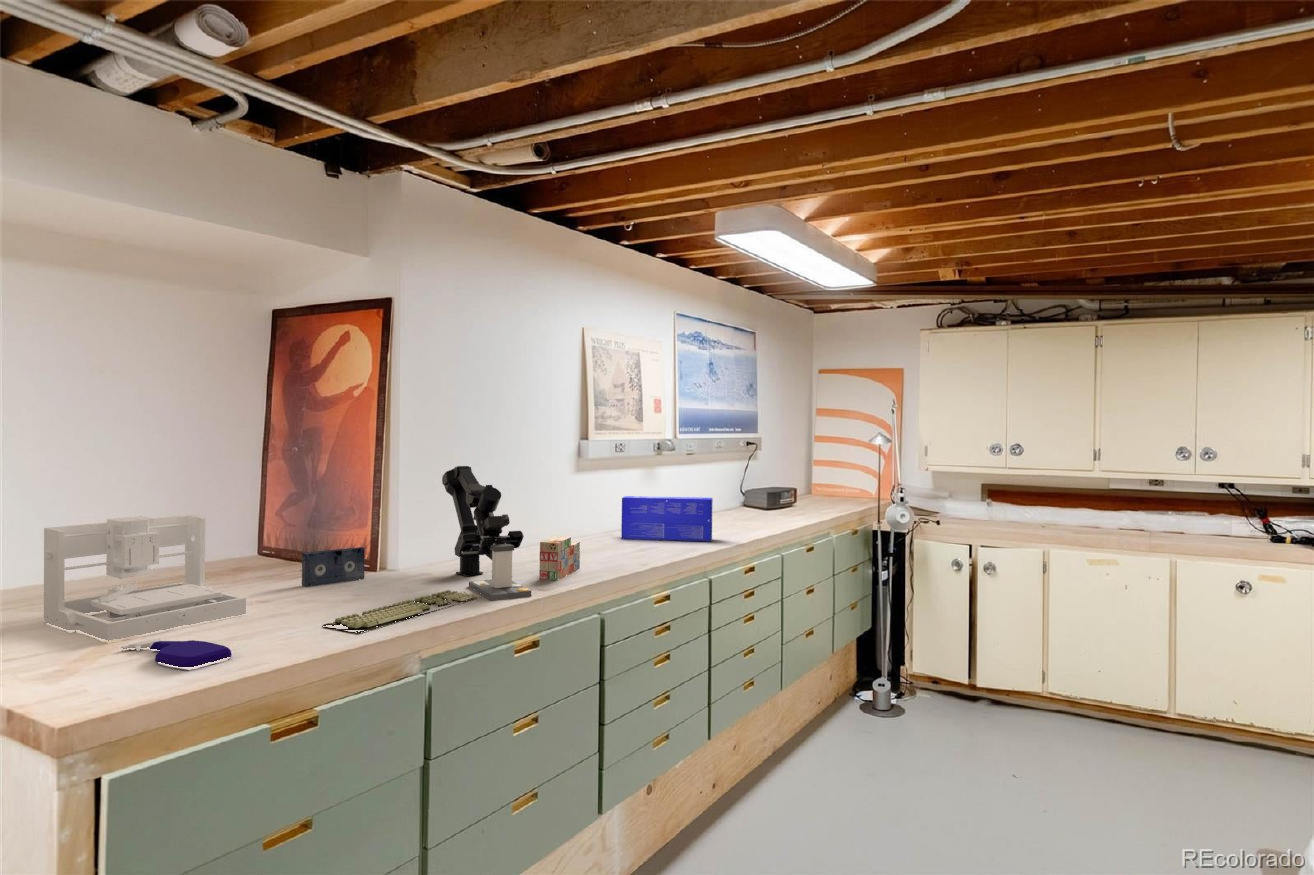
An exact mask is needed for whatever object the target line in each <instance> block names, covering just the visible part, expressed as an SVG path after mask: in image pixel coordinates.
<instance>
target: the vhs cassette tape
mask: <svg viewBox="0 0 1314 875" xmlns="http://www.w3.org/2000/svg"><path fill="white" fill-rule="evenodd" d="M365 552H366V551H365V547H363V546H360V547H350V548H348V547H346V548H339V549H328V550H327V549H326V550H318V551H309V552H308V551H307V552H302V553H301V554H302V555H301V586H302V587H304V588H310V587H317V586H318V587H319V586H325V585H331V584H339V583H345V582H353V581H354V582H355V581H360V580H359V579H361V580H365V575H366V574H365V561H366V560H365V558H366V557H365V554H366V553H365Z"/></svg>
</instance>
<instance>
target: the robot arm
mask: <svg viewBox="0 0 1314 875" xmlns="http://www.w3.org/2000/svg"><path fill="white" fill-rule="evenodd" d="M441 479H442V480H441V483H442V485H443V487H444V489H445V491H446V493H447V494H448V495H450V496H451V497H452V500H453V504H454V508H455V511H456V512H455V513H456V516H457V521H458V524H459V528H460V531H459V535H458V538H457V541H456V544H455V545H454V555H455V556H456V557H458V558H459V571H455V574H456V575H460V576H464V577H470V576H476V575H483V574H484V571H480V569H481V568H480V564H481V563H480V556H486V557H487V558H489V559H490V560H491V561H492V550H491V545H500V544H511V545H514V549H518V548H520V546H521V544H522V542H523V539H524V533H523V531H521V530H509V531H508V533H507V535H501V534H502V533H503V528H504V527H507V526H508V525H509V524H510V517H509V515H508V513H506V514H505V513H504V514H501V515H495V514H494V512H495V511H497V509H498V506H499V503H500V501H501V498H502V493H501V491H500V490H499V489H498V488H496V487H493V484H486V485H482V484H481V483H480V482H479V481H478V480H477V478H476V476H475V475H474V473H473V471H472V467H471V466H468V465H457V466H455V467H453V468H452V469H449V470H447V471H445V472H444V473H443V474H442V477H441ZM471 508H472V509H474V510H473V512H472V509H471ZM475 522H476V524H475Z"/></svg>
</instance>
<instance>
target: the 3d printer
mask: <svg viewBox="0 0 1314 875" xmlns="http://www.w3.org/2000/svg"><path fill="white" fill-rule="evenodd" d="M182 545H183V546H184V550H185V551H184V552H177V553H167V554H160V548H166V547H175V546H182ZM100 555H106V562H98V563H91V564H89V563H88V564H84V565H83V564H82V565H74V566H69V567H65V559H66V560H68V559H75V558H83V557H84V558H85V557H92V556H93V557H94V556H100ZM183 555H184V582H182V581H181V582H176V583H175V582H174V583H169V584H163V585H156V586H149V587H145V588H144V587H143V588H138V586H139V582H138V581H132V582H130V583H128V584H126V585H123V584H122V583H120V584H117V585H114V586H113V587H112V588H111V589H110V588H109V589H108V590H107V593H105V594H100V595H95V596H87V597H82V598H81V597H80V598H75V599H70V600H65V571H68V570H76V569H77V570H78V569H84V568H90V567H99V566H106V572H105V573H106V576H108V577H113V578H117V579H128V578H134V577H141V576H147V575H148V576H149V575H154V574H156V568H151V567H149V566H152V565H159V564H160V558H161V559H162V558H167V557H168V558H169V557H174V556H175V557H176V556H183ZM205 584H206V517H205V516H198V515H193V514H185V515H173V516H164V517H147V516H142V515H141V516H140V515H138V516H129V517H117V518H115V517H114V518H107V519H106V522H97V523H87V524H86V523H85V524H75V525H73V524H72V525H64V526H63V525H62V526H52V527H44V528H43V619H44V621H45V624H46V623H49V624H51V625H55V626H58V627H61V628H63V629H66V630H80V631H82V632H84V633H87V634H89V635H93V636H95V637H98V638H101V639H105V640H108V641H109V640H113V639H121V638H126V637H130V636H134V635H142V634H146V633H151V632H155V631H159V630H166V629H170V628H174V627H178V626H183V625H191V624H196V623H200V622H204V621H212V620H216V619H221V618H226V617H231V616H238V615H242V614H246V615H247V597H244V596H240V595H236V594H231V593H227V592H224V591H222V590H218V589H214V588H213V587H209V586H206V585H205ZM104 610H106V611H107V615H106V616H107V617H108V618H109V619H110V618H111V619H116V618H122V617H126V619H121V620H115V621H109V620H106V619H103V618H99V617H96V616H95V615H88V614H85V613H90V612H100V611H104Z"/></svg>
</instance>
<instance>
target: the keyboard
mask: <svg viewBox="0 0 1314 875" xmlns="http://www.w3.org/2000/svg"><path fill="white" fill-rule="evenodd" d="M473 598H475V599H476V598H478V596H477V595H476V594H469V593H466V592H463V593H462V592H459V591H457V590H456V591H455V590H453V591H451V590H450V589H447V590H443V591H438V592H434V593H432V594H431V595H430V594H426V595H423V596H419V597H415V599H407V600H404V601H399V602H397V603H392V605H384V606H380V607H378V608H377V607H375V608H373V609H368V610H364V611H362V614H359V613H353V614H352V613H351V614H349V615H346V616H340V617H337V618H334V619H335V620H334V621H333V623H332V622H329V623H324V624H323V625H321V627H322V628H324V627H323V626H326V625H332V626H334V625H340V624H342V625H343V626H346V627H348V629H337V630H336V629H335V631H339V630H364V631H367V630H371V631H374V630H377V629H380V628H379V627H381V626H384V625H388V626H390V625H389V624H391V625H393V624H392V623H394V624H396V623H395V621H396V622H398V623H400V622H399V621H401V622H405V621H407V619H408V620H410V618H412V619H414V618H413V617H415V616H418V617H421V615H422V616H424V614H425V615H427V614H428V615H429V614H431V613H430V612H432V613H436V612H438V611H441V610H440V609H442V610H444V609H443V608H445V609H447V608H446V607H447V606H446V603H450V604H451V603H453V602H454V601H460V602H459V603H461V602H466V600H468V601H470V599H471V600H473ZM481 598H483V596H481V597H479V599H481ZM442 599H446V600H442ZM414 601H415V602H414ZM416 602H421V603H416ZM423 603H424V604H423ZM426 603H427V604H428V605H427V604H426ZM431 604H433V605H436V606H438V607H437V608H439V607H440V606H441V607H442V608H439V609H436V610H435V609H434V610H431V611H430V609H431V606H432V605H431ZM456 604H457V603H456ZM456 604H451V605H449V606H448V608H450V607H455V606H457V605H456ZM442 605H444V606H445V607H443V606H442ZM454 605H455V606H454ZM426 610H427V611H428V612H427V611H426ZM437 610H438V611H437ZM425 611H426V612H425ZM424 612H425V613H424ZM418 613H419V614H420V613H424V614H420V615H418ZM412 616H413V617H412ZM409 617H410V618H409ZM406 618H407V619H406ZM415 618H416V617H415ZM404 620H405V621H404ZM376 626H378V627H376ZM384 627H385V626H384ZM376 628H377V629H376ZM381 628H382V627H381ZM373 629H374V630H373ZM364 631H360V632H358V631H356V632H357V633H353V632H351V633H350V634H356V635H358V633H361V632H364ZM364 633H365V632H364ZM361 634H362V633H361Z"/></svg>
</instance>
